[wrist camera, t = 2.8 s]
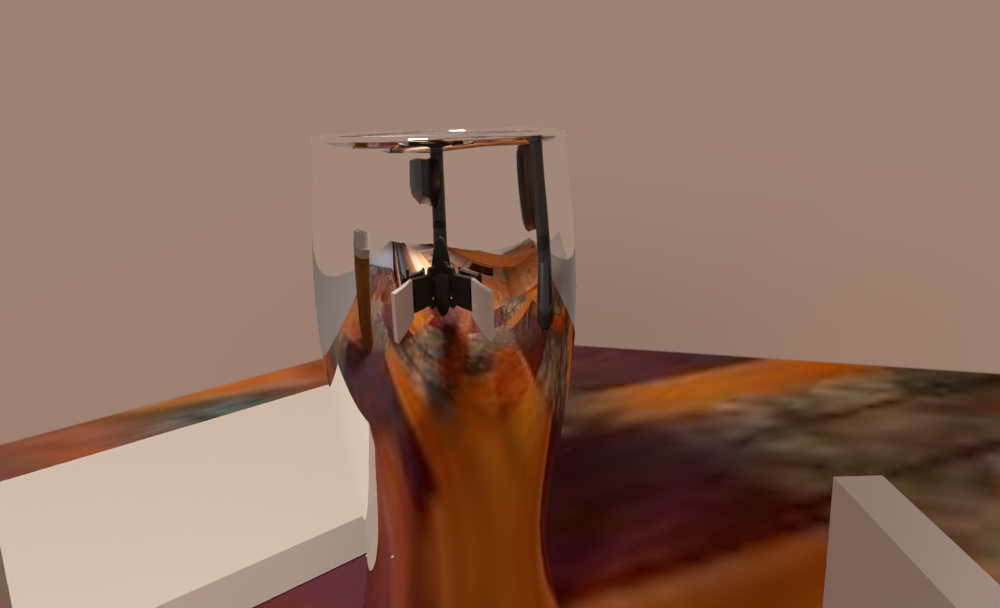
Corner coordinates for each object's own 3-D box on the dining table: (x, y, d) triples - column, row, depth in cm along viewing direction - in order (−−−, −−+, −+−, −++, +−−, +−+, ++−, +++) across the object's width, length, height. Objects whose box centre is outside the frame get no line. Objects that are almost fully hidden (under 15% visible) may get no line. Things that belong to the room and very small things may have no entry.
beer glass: (433, 552, 29) (411, 127, 25) (613, 608, 25) (618, 125, 22) (295, 669, 23) (239, 138, 19) (504, 762, 19) (485, 136, 16)
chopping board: (383, 393, 45) (382, 368, 44) (555, 461, 36) (555, 430, 35) (-92, 547, 30) (-100, 511, 30) (-5, 730, 21) (-15, 682, 20)
